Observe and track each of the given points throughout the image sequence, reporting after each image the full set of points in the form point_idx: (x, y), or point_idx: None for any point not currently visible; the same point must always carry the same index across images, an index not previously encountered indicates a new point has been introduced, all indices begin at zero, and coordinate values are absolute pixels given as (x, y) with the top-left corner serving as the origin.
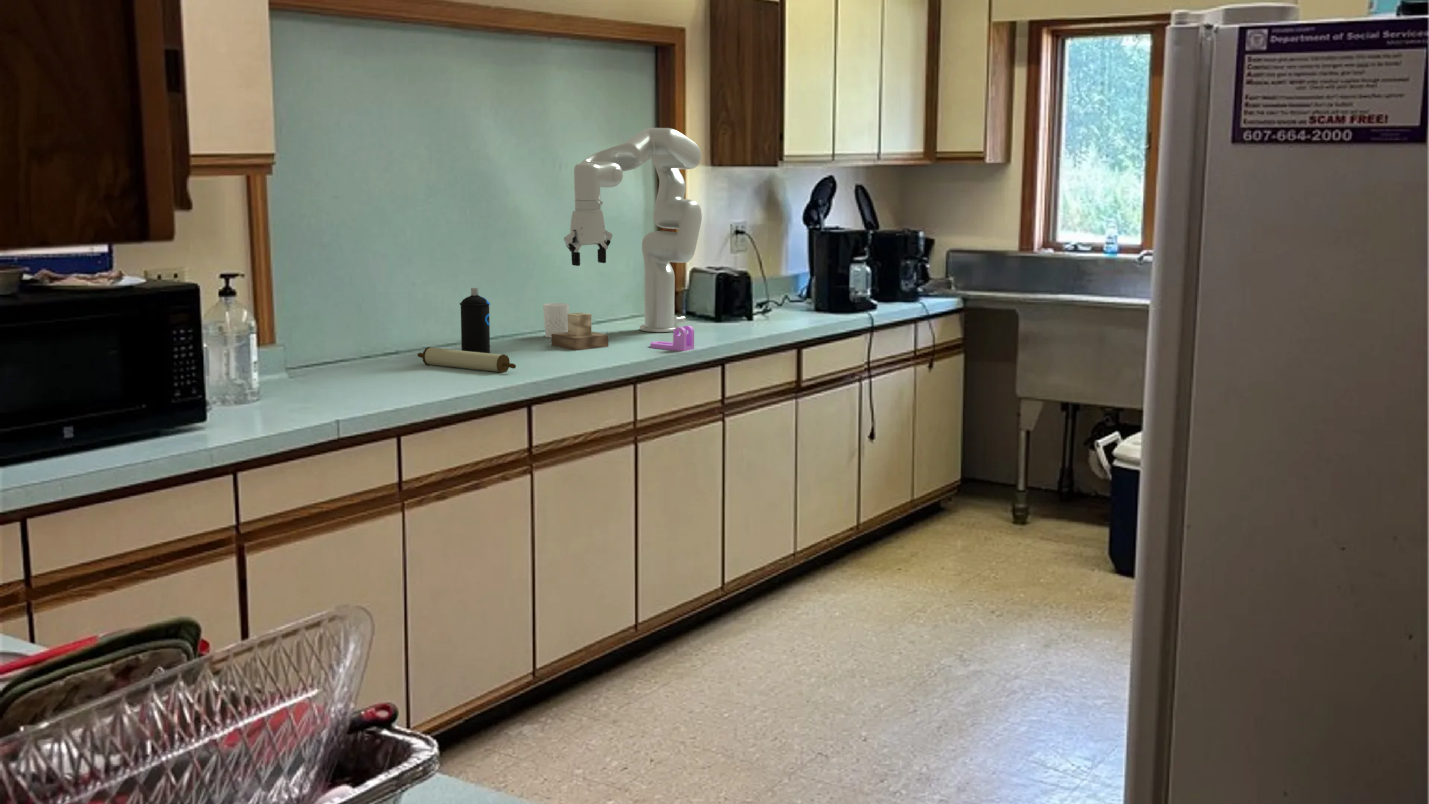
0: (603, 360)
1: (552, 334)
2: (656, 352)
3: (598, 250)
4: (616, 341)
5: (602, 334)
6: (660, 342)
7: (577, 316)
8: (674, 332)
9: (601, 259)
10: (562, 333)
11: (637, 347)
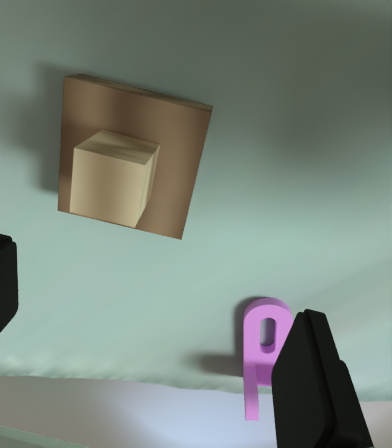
0: (25, 324)
1: (64, 84)
2: (188, 348)
3: (315, 427)
4: (285, 182)
5: (174, 222)
6: (276, 321)
7: (70, 209)
8: (245, 394)
9: (283, 372)
10: (99, 104)
11: (223, 284)
